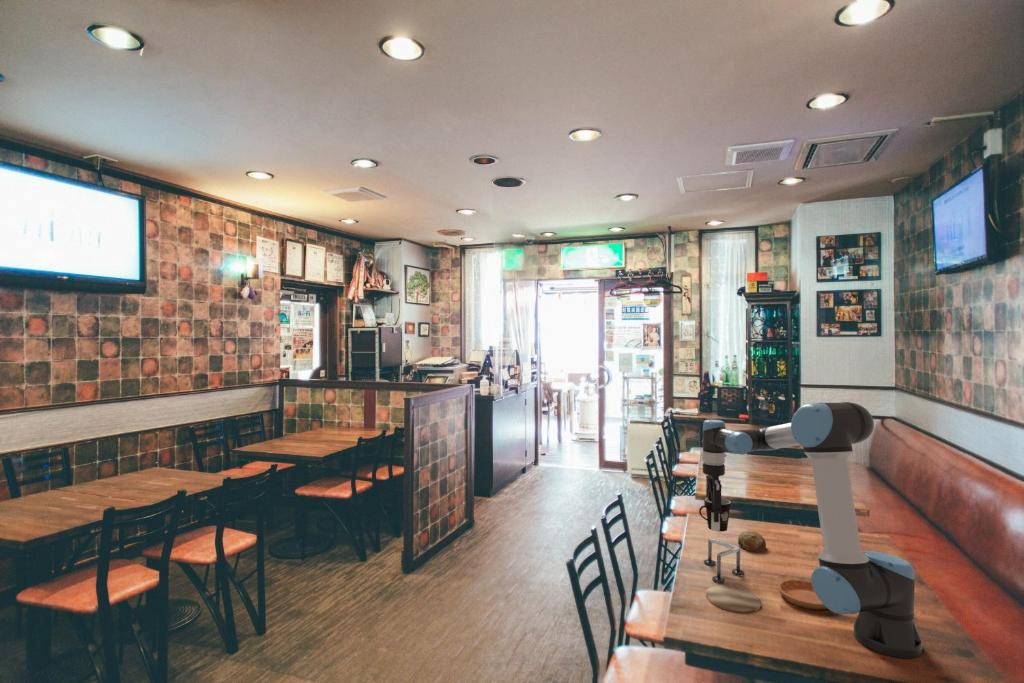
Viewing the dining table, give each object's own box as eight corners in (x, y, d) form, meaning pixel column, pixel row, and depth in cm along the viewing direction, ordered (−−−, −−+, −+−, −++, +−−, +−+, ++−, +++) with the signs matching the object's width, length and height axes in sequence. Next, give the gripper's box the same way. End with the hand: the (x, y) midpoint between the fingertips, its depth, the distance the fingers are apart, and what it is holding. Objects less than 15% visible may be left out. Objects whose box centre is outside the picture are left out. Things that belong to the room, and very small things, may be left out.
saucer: (820, 618, 157) (820, 608, 157) (768, 596, 171) (768, 587, 171) (846, 604, 166) (846, 594, 166) (795, 584, 179) (795, 575, 179)
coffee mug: (726, 524, 197) (726, 497, 197) (733, 533, 189) (733, 504, 189) (693, 523, 198) (694, 496, 198) (699, 531, 190) (699, 503, 190)
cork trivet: (768, 614, 159) (768, 612, 159) (712, 610, 161) (712, 607, 161) (752, 589, 175) (752, 587, 175) (701, 585, 177) (701, 583, 177)
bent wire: (751, 585, 177) (752, 558, 177) (713, 582, 179) (714, 555, 179) (737, 562, 195) (737, 538, 195) (703, 560, 197) (703, 536, 197)
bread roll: (736, 552, 215) (729, 535, 213) (755, 538, 217) (748, 521, 216) (754, 562, 205) (747, 544, 204) (773, 547, 208) (766, 530, 207)
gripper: (731, 469, 184) (731, 537, 184) (718, 457, 203) (718, 518, 203) (708, 468, 185) (708, 536, 185) (697, 457, 204) (697, 517, 204)
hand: (713, 526), depth 194 cm, fingers closed on coffee mug, 6 cm apart
